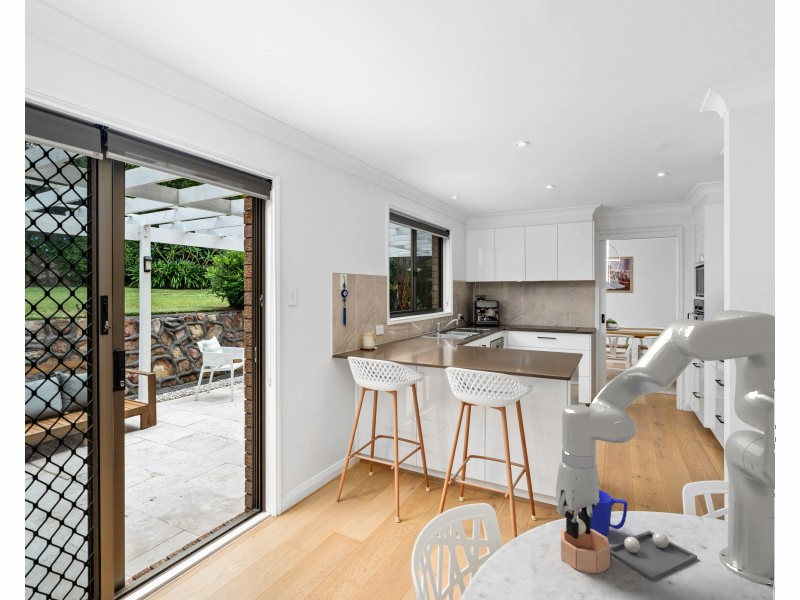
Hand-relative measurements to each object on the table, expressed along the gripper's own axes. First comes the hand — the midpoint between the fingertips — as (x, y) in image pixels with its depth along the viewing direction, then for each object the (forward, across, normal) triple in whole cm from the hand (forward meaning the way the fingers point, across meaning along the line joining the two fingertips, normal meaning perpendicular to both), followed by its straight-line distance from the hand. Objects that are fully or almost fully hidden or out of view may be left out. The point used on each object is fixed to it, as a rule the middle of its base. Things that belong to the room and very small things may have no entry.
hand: (578, 533), depth 105 cm
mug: (+6, -14, -5) cm, 17 cm away
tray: (+6, -16, +8) cm, 19 cm away
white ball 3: (+6, -22, +6) cm, 23 cm away
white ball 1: (0, 0, 0) cm, 0 cm away
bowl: (+6, -1, +1) cm, 6 cm away
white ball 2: (+6, -14, +4) cm, 15 cm away
